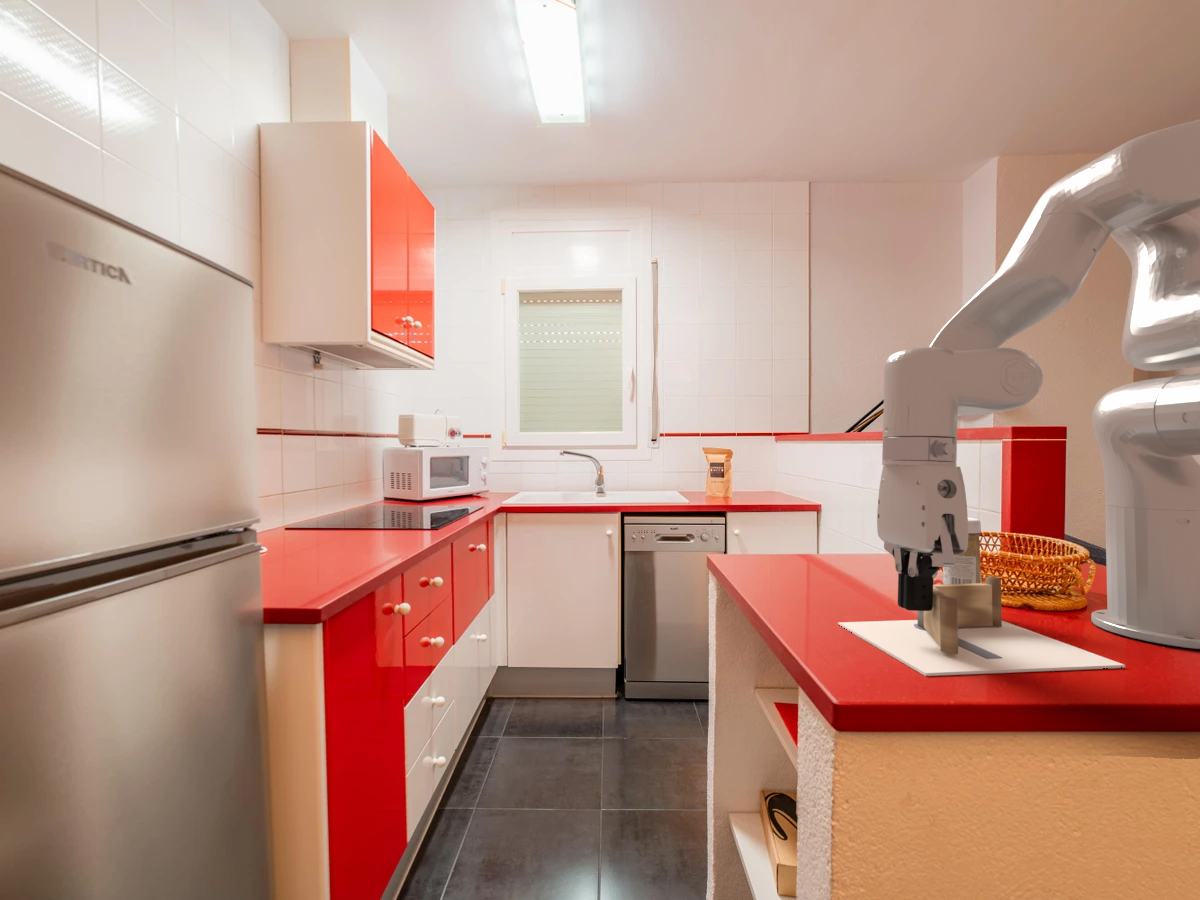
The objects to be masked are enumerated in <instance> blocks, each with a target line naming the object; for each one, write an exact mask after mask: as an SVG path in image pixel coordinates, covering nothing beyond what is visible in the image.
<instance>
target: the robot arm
mask: <svg viewBox="0 0 1200 900" xmlns="http://www.w3.org/2000/svg"><path fill="white" fill-rule="evenodd" d="M1197 209H1200V119H1195V120H1191V121H1188V122H1187V121H1186V122H1184V123H1180V124H1176V125H1172V126H1168V127H1166V128H1162V129H1158V130H1155V131H1152V132H1151V131H1150V132H1148V133H1146V134H1142V135H1140V136H1138V137H1135V138H1133V139H1130V140H1128V141H1125V143H1122V144H1120V145H1119V146H1117V147H1115V148H1113V149H1112V150H1109V151H1108V152H1106V153H1104V154H1102V155H1101V156H1099V157H1097V158H1095V159H1093V160H1091V161H1090V162H1088V163H1086V164H1084V165H1082V166H1080V167H1079V168H1077V169H1075V170H1074V171H1071V172H1070V173H1068V174H1066V175H1065V176H1063V177H1061V178H1060V179H1058V180H1057V181H1056V182H1054V183H1053V184H1052V185H1050V186H1049V187H1048V188H1047V189H1046V190H1045V191H1044V192H1043V193H1042V194H1041V196H1040V197H1039V199H1038V200H1037V202H1036V203H1035V205H1034V207H1033V208H1032V210H1031V212H1030V214H1029V216H1028V217H1027V220H1026V221H1025V223H1024V224H1023V226H1022V228H1021V229H1020V232H1019V233H1018V234H1017V237H1016V238H1015V240H1014V243H1012V246H1011V247H1010V249H1009V251H1008V253H1007V255H1006V256H1005V258H1004V259H1003V262H1002V263H1001V264H1000V267H999V268H998V270H997V271H996V273H995V274H994V276H993V277H992V278H991V279H990V280H989V281H988V282H987V283H986V284H985V285H983V286H982V288H980V289H979V290H978V291H977V292H976V293H975V294H974V295H973V296H972V297H971V299H969V300H968V301H967V302H966V303H965V305H963V307H961V309H960V310H958V312H956V314H954V316H952V318H950V320H949V321H948V322H947V323H945V325H944V326H943V327H942V328H941V329H940V331H938V333H937V334H936V335H935V338H933V340H932V342H930V345H929V347H916V348H915V347H914V348H908V349H904V350H903V349H902V350H899V351H897V352H894V353H892V354H891V355H889V356H888V357H887V359H886V361H885V364H884V370H883V371H884V374H883V375H884V377H883V413H882V414H883V420H882V456H881V457H882V458H881V465H882V469H881V474H880V475H881V476H880V480H879V481H880V482H879V489H878V497H877V498H878V500H877V511H876V514H877V516H876V527H877V528H876V530H877V536H878V537H879V539H880V540H881V541H882V542H884V544H883V549H884V550H885V551H886V552H888V553H889V554H891V555H892V557H893V559H894V568H895V570H896V571H895V572H897V574H898V575H897V576H898V577H897V578H898V581H897V605H898V607H899V608H903V609H904V610H906V611H914V612H915V611H916V612H917V611H931V610H932V608H933V578H937V576H938V572H939V570H940V568H943V567H950V566H953V565H954V555H953V554H962V553H964V552H966V550H967V547H968V518H969V517H968V504H967V495H966V485H965V482H964V476H963V473H962V469H961V466H957V460H958V459H957V453H958V452H957V451H958V448H957V447H958V445H957V444H958V417H966V416H981V415H982V416H984V415H990V414H999V413H1006V412H1010V411H1013V410H1017V409H1019V408H1022V407H1023V406H1026V405H1027V404H1029V403H1030V402H1031V401H1033V400H1034V398H1036V396H1037V395H1038V393H1039V392H1041V391H1040V390H1041V388H1042V385H1043V380H1044V377H1043V376H1044V375H1043V371H1042V368H1041V366H1040V364H1039V363H1038V362H1037V360H1036V359H1035V358H1034V357H1033V356H1031V355H1029V354H1028V353H1027V352H1024V351H1021V350H1019V349H1016V348H1010V347H1001V346H1002V345H1004V344H1005V343H1006V342H1008V341H1009V340H1010V339H1012V338H1013V337H1015V336H1016V335H1019V334H1020V333H1021V332H1024V331H1025V330H1027V329H1029V328H1031V327H1032V326H1034V325H1036V324H1037V323H1040V322H1041V321H1043V320H1044V319H1046V318H1048V317H1049V316H1050V315H1052V314H1053V313H1055V312H1057V311H1058V310H1060V309H1061V308H1062V307H1064V306H1065V305H1067V304H1068V303H1070V301H1071V300H1072V299H1074V297H1075V296H1076V295H1077V294H1078V292H1079V291H1080V289H1081V288H1082V285H1083V283H1084V281H1085V280H1086V278H1087V276H1088V275H1089V272H1090V270H1091V268H1092V267H1093V265H1094V264H1095V261H1096V259H1097V258H1098V256H1099V254H1100V252H1101V250H1102V249H1103V247H1104V245H1105V244H1106V242H1107V240H1108V239H1109V237H1111V238H1112V239H1113V240H1114V241H1115V243H1117V244H1118V245H1119V247H1120V248H1121V249H1122V250H1123V252H1124V253H1125V254H1126V257H1127V258H1128V260H1129V263H1130V265H1131V272H1132V273H1131V283H1130V289H1129V295H1128V301H1127V302H1128V303H1127V307H1126V312H1125V319H1124V325H1123V330H1122V338H1121V352H1122V356H1123V359H1124V361H1126V363H1127V364H1129V365H1130V366H1131V367H1133V368H1135V369H1137V370H1141V371H1145V372H1147V371H1148V372H1164V371H1165V372H1166V371H1176V370H1182V369H1183V370H1184V369H1185V370H1186V369H1190V368H1199V367H1200V221H1199V220H1197V219H1195V218H1193V217H1192V216H1190V215H1189V214H1187V213H1190V212H1192V211H1194V210H1197ZM1091 424H1092V430H1093V434H1094V437H1095V441H1096V443H1097V446H1098V447H1097V448H1098V450H1099V455H1100V458H1101V463H1102V471H1103V480H1104V481H1103V482H1104V508H1105V509H1104V516H1105V517H1104V518H1105V519H1104V521H1105V557H1106V559H1105V560H1106V562H1105V564H1106V595H1107V596H1106V598H1107V599H1106V600H1107V606H1106V607H1107V608H1106V609H1098V610H1095V611H1092V612H1091V617H1090V618H1091V622H1092V623H1093V624H1094V625H1095V626H1096V627H1099V628H1100V629H1103V630H1105V631H1108V632H1110V633H1114V634H1117V635H1120V636H1125V637H1127V638H1131V639H1135V640H1140V641H1143V642H1149V643H1155V644H1159V645H1166V646H1171V647H1179V648H1183V649H1184V648H1185V649H1191V650H1192V649H1194V650H1200V463H1198V461H1197V460H1196V459H1195V457H1194V456H1198V455H1199V456H1200V373H1193V374H1192V373H1191V374H1180V375H1173V376H1166V377H1158V378H1150V379H1144V380H1139V381H1134V382H1129V383H1126V384H1123V385H1121V386H1118V387H1115V388H1113V389H1111V390H1110V391H1107V392H1106V393H1104V395H1102V397H1100V399H1098V401H1097V402H1096V404H1095V405H1094V408H1093V410H1092V415H1091Z"/></svg>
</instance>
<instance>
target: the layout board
mask: <svg viewBox="0 0 1200 900" xmlns="http://www.w3.org/2000/svg"><path fill="white" fill-rule="evenodd" d="M838 624H839V625H840V627H841V626H842V627H841V628H843V629H844V628H845V630H846V629H847V630H846V631H848V632H849V631H850V633H851V632H852V633H851V634H853V635H854V636H856V637H858V638H860V639H862V640H863V641H865V642H866V643H868V644H870V645H872V646H873V647H874V648H877V649H878V650H880V651H881V652H883V653H885V654H887V655H889V656H890V657H892V658H894V659H895V660H898V661H899V662H901V663H903V664H904V665H906V666H907V667H910V669H912V670H914V671H916V672H918V673H920V674H921V675H923V676H924V677H932V676H933V677H935V676H936V677H937V676H956V675H957V676H959V675H962V676H963V675H983V674H984V675H985V674H1006V673H1007V674H1008V673H1009V674H1010V673H1026V672H1027V673H1029V672H1030V673H1031V672H1035V673H1036V672H1050V671H1051V672H1055V671H1057V672H1058V671H1078V670H1079V671H1082V670H1103V668H1105V670H1106V668H1108V669H1125V668H1126V664H1124V663H1120V662H1118V661H1116V660H1112V659H1110V658H1107V657H1104V656H1102V655H1099V654H1096V653H1093V652H1090V651H1087V650H1085V649H1082V648H1079V647H1077V646H1074V645H1071V644H1069V643H1065V642H1063V641H1060V640H1057V639H1054V638H1051V637H1049V636H1046V635H1043V634H1040V633H1037V632H1035V631H1032V630H1030V629H1027V628H1024V627H1021V626H1019V625H1015V624H1013V623H1010V622H1007V621H1005V620H1002V627H998V626H975V627H958V654H947V653H944V652H942V651H941V650H940V646H939V645H938V643H937V642H936V641H935V640H934V639H933V637H932V636H931V635H930V634H929V633H928V631H927V630H926V629H925V628H921V627H918V619H909V620H908V619H907V620H905V619H903V620H902V619H901V620H878V621H875V620H874V621H869V620H868V621H847V622H846V621H844V622H839V621H838V622H837V625H838ZM839 625H838V626H839ZM1121 667H1122V668H1121Z"/></svg>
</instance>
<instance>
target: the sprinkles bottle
mask: <svg viewBox="0 0 1200 900" xmlns="http://www.w3.org/2000/svg"><path fill="white" fill-rule="evenodd" d="M981 532H982V527H981V520H980V519H979V518H973V517H968V547H967V550H966V552H964V553H962V554H953V555H954V565H953V566H950V567H942V573H943V576H942V577H943V578H942V579H943V580H942V581H943V583H942V584H973V583H982V570H981V550H980V549H981V548H980V545H981V544H980V535H981V534H980V533H981Z"/></svg>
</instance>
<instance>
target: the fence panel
mask: <svg viewBox="0 0 1200 900" xmlns="http://www.w3.org/2000/svg"><path fill="white" fill-rule="evenodd" d="M934 585H935V584H934ZM934 585H933V608H932V610H931V611H924V628H925V629H926V630H927V631H928V633H929V634H930V635H931V636H932V637H933V639H934V640H935V641H936V642H937V643H938V645H939V646H940V650H941V651H942V652H944V653H947V654H958V614H957V599H956V598H953V597H947V596H945V595H944V594H943V593H942V592H941V591H940V590H938V589H937V588H936V587H935V586H934Z"/></svg>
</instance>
